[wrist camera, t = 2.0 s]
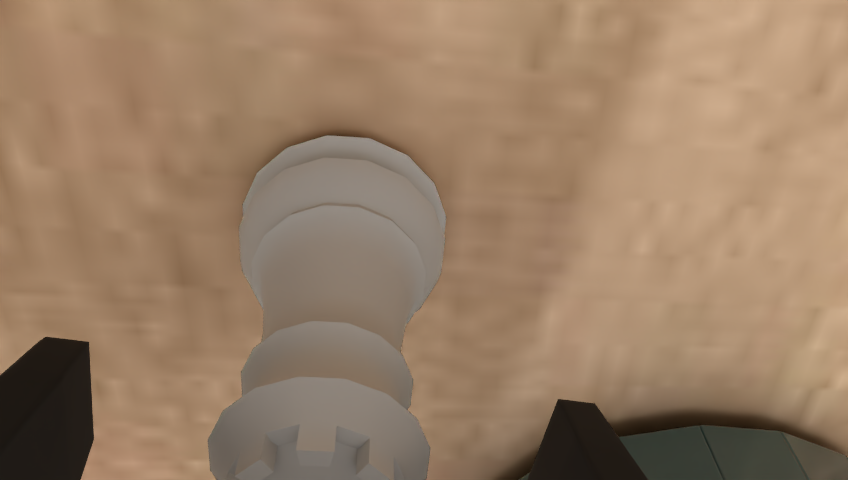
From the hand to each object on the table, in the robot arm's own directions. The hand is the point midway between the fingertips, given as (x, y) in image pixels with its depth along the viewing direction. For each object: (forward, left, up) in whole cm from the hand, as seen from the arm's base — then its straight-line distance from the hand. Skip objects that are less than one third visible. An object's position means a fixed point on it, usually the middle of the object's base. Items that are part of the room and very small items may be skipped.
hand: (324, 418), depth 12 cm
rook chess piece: (0, 0, -6) cm, 6 cm away
